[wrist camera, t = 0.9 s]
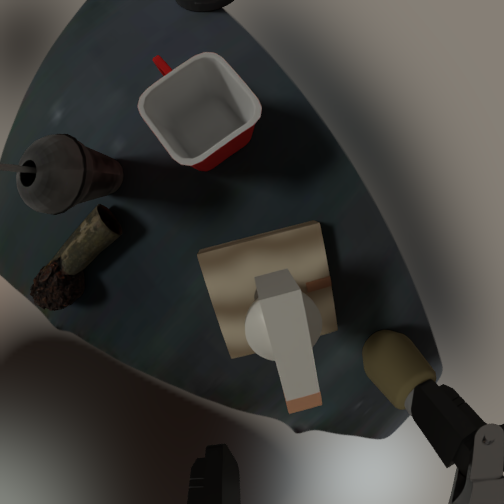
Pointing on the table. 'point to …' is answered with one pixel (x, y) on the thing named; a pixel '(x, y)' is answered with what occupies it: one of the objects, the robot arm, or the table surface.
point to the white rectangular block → (286, 336)
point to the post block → (263, 262)
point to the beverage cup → (63, 174)
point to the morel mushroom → (75, 260)
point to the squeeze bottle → (395, 366)
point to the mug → (200, 110)
